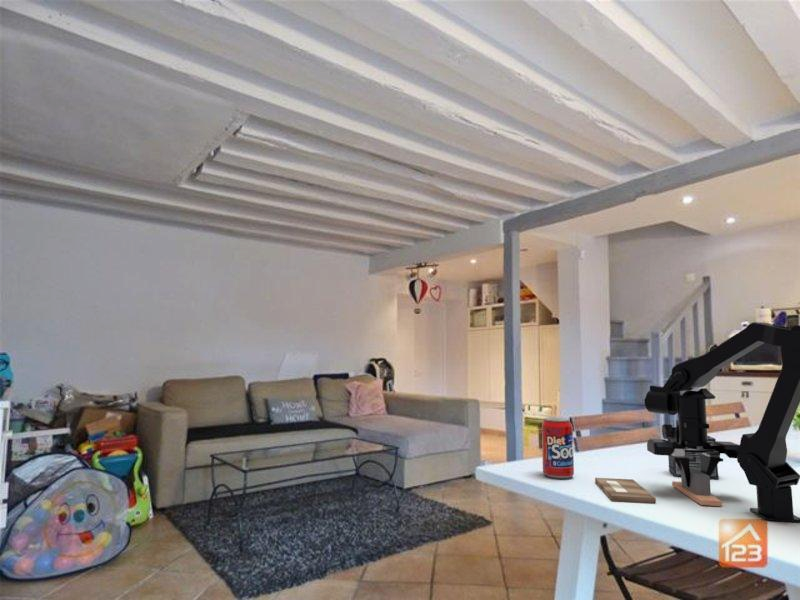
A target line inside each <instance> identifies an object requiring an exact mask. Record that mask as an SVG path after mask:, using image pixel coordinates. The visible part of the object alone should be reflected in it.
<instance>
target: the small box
mask: <svg viewBox="0 0 800 600" xmlns="http://www.w3.org/2000/svg"><path fill="white" fill-rule="evenodd" d="M707 438H708V442H710V445H713V443H714V441H717V440H716V438H715V437H712V436H709V435H707ZM666 440H667V441H669V442H671V439H666ZM677 444H679V443H677ZM697 449H698V448H697ZM699 454H702V453H697V452H685V456H686V457H688V458H689V468H695V469H697V470H699V471H701V460H700V457H699ZM667 456H668V455H667ZM718 470H719V468H718V464H717V466H716V468H715V469H714V471H713V472H712V474H711V477H710V480H719V479H720V476H719V471H718ZM668 472H669V474H671V475H672V476H673V477H674V476H675V477H674V478H681V472H680V470H679V467H678V466H677V464H676V462H675V460H674V459H673V458H671V457H670V456H668Z"/></svg>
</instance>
